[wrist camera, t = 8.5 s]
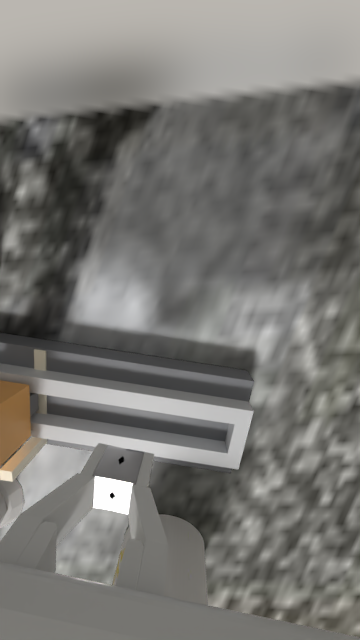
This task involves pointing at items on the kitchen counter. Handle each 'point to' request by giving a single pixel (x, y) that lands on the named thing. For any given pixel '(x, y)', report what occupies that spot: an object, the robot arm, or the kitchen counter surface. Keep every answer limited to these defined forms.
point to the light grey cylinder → (180, 560)
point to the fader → (15, 416)
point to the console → (128, 403)
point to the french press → (10, 501)
